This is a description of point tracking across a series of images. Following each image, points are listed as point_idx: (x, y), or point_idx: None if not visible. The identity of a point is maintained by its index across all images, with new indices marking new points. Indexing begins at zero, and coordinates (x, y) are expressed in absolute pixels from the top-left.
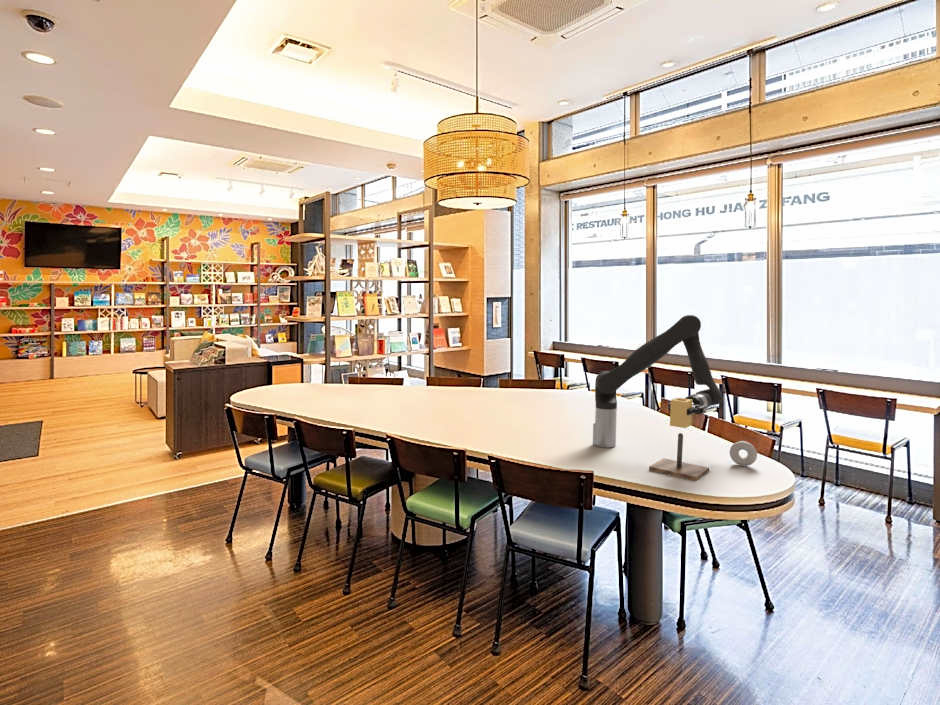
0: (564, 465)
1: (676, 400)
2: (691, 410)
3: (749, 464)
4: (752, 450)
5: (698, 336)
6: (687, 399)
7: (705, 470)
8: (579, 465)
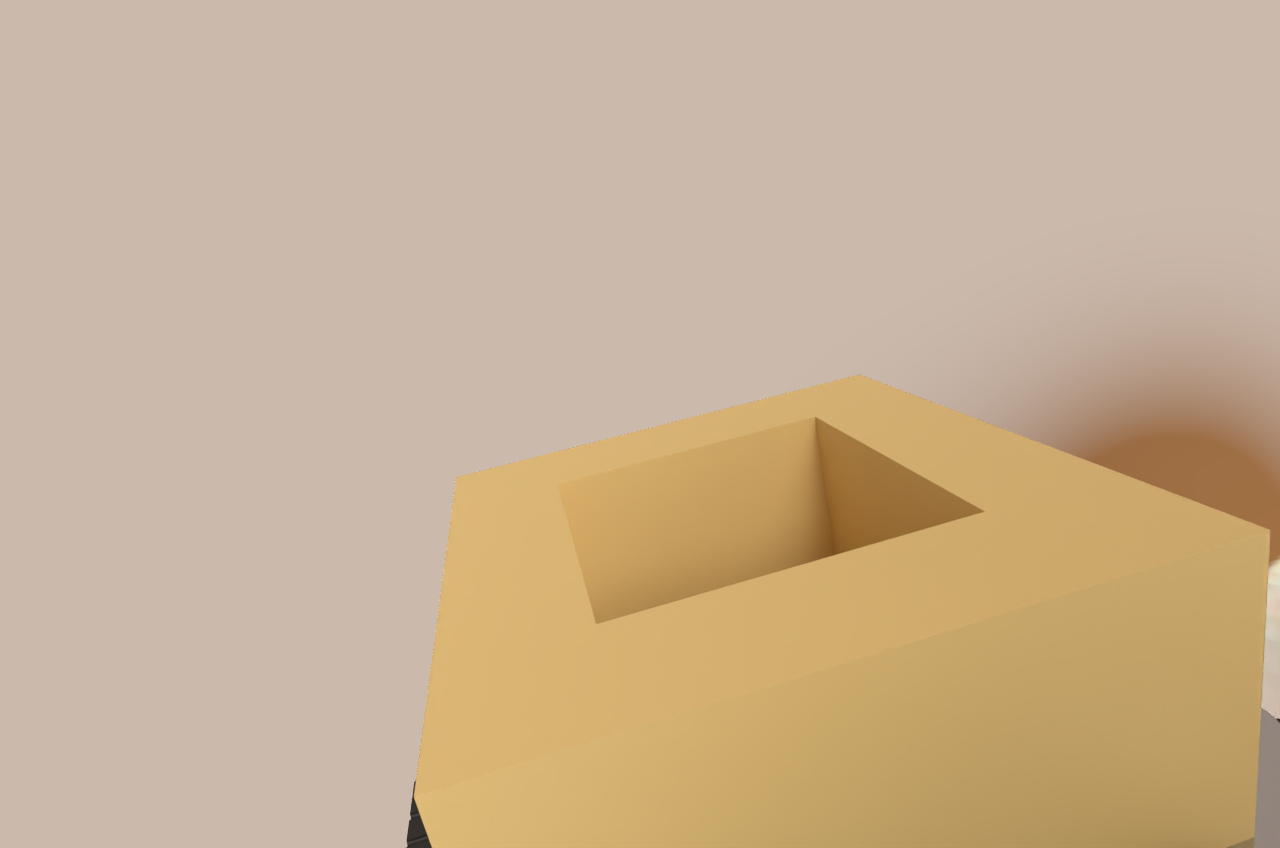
0: (1265, 626)
1: (744, 414)
2: (415, 782)
3: None
4: None
5: None
6: (629, 633)
7: None
8: (1269, 688)
